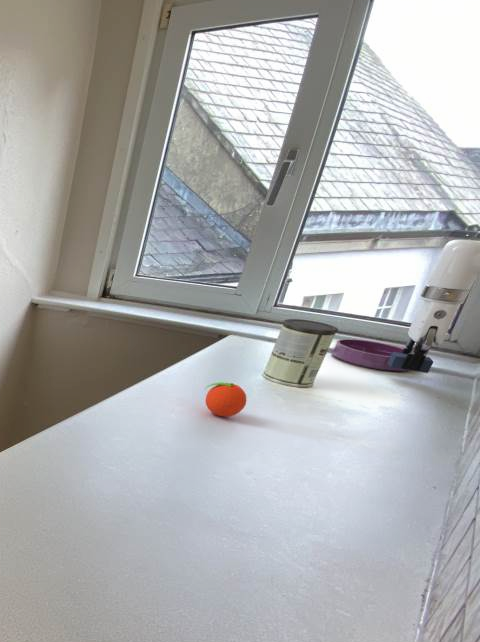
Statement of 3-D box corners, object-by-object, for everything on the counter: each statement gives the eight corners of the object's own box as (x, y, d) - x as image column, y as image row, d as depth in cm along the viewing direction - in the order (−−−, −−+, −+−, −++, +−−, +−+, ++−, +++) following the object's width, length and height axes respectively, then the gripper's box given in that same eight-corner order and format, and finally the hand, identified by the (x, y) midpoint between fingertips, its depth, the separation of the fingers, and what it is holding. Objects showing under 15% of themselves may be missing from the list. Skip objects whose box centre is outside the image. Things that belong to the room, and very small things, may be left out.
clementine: (196, 416, 113) (208, 384, 110) (193, 404, 118) (204, 374, 115) (241, 425, 110) (255, 392, 107) (236, 412, 115) (249, 381, 112)
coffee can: (265, 369, 142) (287, 316, 136) (314, 380, 136) (340, 325, 130) (258, 378, 136) (281, 323, 129) (309, 391, 129) (336, 333, 123)
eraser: (423, 368, 139) (429, 357, 137) (427, 373, 135) (433, 361, 134) (387, 362, 142) (392, 351, 141) (390, 367, 139) (395, 356, 138)
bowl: (404, 361, 155) (411, 347, 153) (417, 377, 142) (425, 363, 140) (327, 348, 163) (333, 335, 162) (333, 362, 151) (340, 348, 149)
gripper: (476, 303, 122) (435, 379, 130) (456, 291, 135) (420, 361, 143) (430, 298, 126) (393, 373, 134) (415, 287, 139) (382, 356, 147)
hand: (407, 366), depth 139 cm, fingers closed on eraser, 4 cm apart
